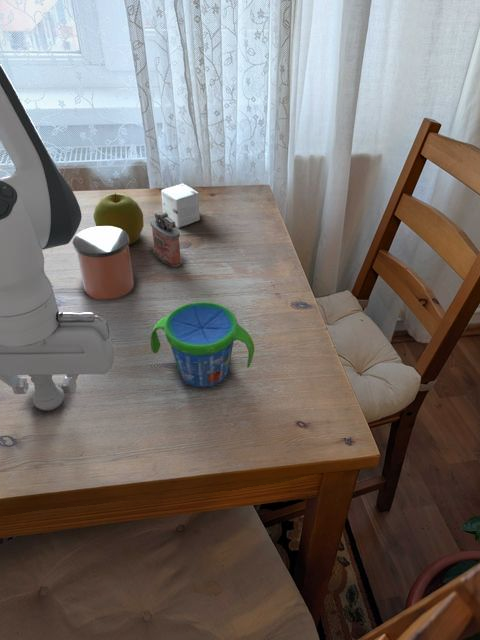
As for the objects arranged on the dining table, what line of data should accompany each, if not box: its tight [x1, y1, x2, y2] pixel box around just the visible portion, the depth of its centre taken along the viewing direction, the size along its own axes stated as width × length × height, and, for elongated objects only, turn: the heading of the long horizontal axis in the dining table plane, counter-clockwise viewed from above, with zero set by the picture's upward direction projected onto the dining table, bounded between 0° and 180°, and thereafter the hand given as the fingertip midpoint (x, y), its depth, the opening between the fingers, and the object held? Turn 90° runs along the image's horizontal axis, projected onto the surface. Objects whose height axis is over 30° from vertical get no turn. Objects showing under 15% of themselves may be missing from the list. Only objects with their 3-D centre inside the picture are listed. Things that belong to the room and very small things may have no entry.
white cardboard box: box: [160, 183, 201, 229], centre depth 115 cm, size 6×6×7 cm
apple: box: [92, 192, 145, 246], centre depth 107 cm, size 10×10×11 cm
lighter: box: [149, 210, 183, 267], centre depth 103 cm, size 8×3×10 cm, turn 40°
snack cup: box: [150, 301, 255, 388], centre depth 79 cm, size 16×10×10 cm
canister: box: [72, 226, 135, 300], centre depth 94 cm, size 9×9×10 cm
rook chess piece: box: [28, 375, 65, 411], centre depth 73 cm, size 4×4×8 cm
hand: (46, 390), depth 74 cm, fingers open, 5 cm apart
